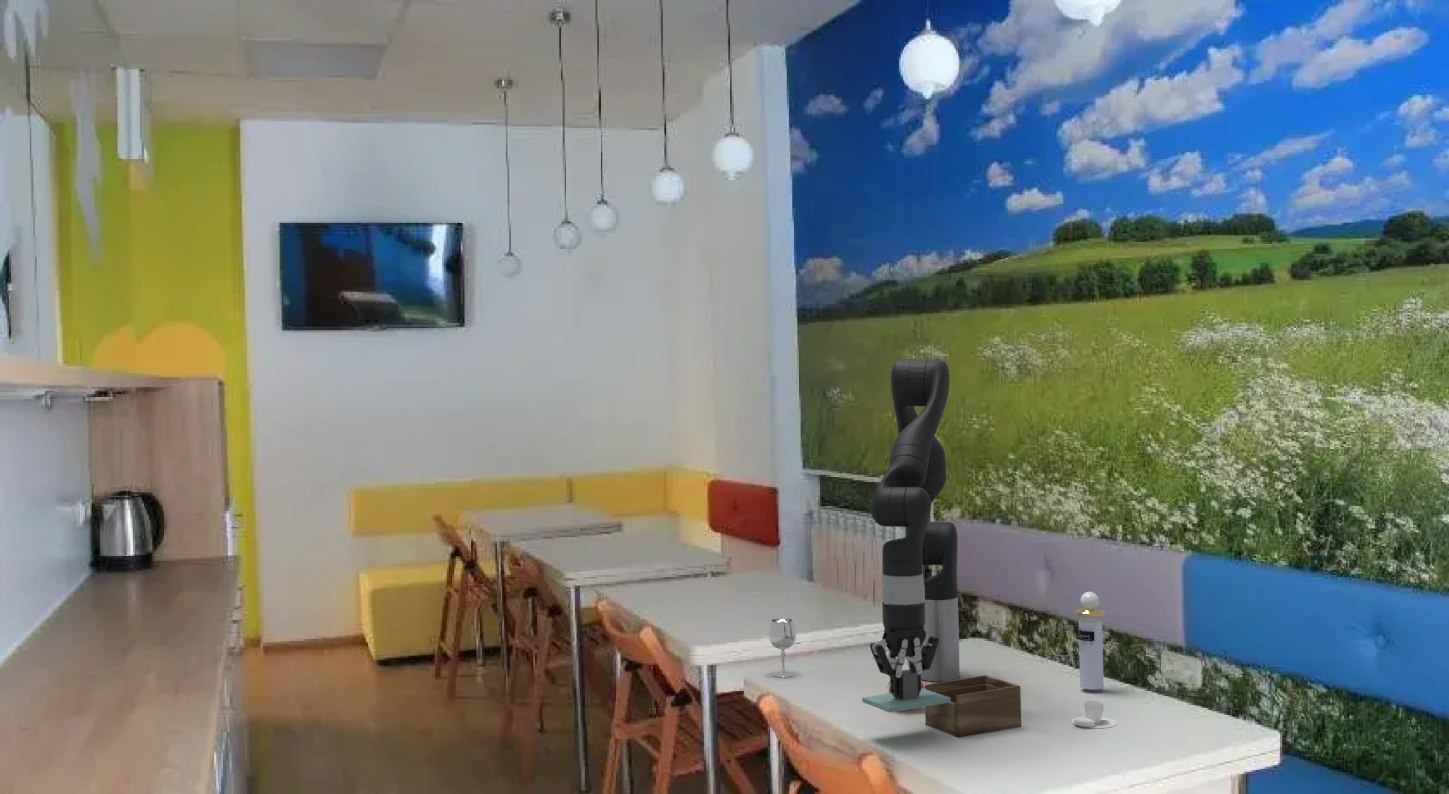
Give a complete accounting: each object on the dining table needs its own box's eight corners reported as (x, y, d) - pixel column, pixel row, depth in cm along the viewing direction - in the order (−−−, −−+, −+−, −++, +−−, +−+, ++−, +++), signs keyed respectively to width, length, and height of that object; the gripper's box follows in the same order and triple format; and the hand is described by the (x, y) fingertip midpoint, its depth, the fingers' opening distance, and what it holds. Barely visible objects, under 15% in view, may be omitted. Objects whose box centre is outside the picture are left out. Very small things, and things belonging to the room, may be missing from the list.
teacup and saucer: (1082, 733, 220) (1082, 710, 220) (1059, 721, 227) (1058, 699, 227) (1125, 728, 222) (1125, 705, 222) (1101, 717, 230) (1100, 695, 230)
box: (925, 724, 226) (924, 684, 226) (986, 714, 232) (985, 675, 232) (959, 738, 217) (957, 696, 217) (1021, 726, 223) (1020, 685, 223)
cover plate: (862, 702, 219) (861, 672, 219) (922, 692, 225) (921, 663, 225) (889, 712, 211) (888, 682, 211) (950, 702, 217) (949, 672, 217)
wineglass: (779, 670, 273) (778, 617, 273) (801, 673, 269) (800, 619, 269) (765, 676, 268) (763, 621, 268) (787, 679, 265) (786, 623, 265)
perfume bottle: (1087, 685, 252) (1084, 588, 252) (1112, 690, 248) (1110, 591, 248) (1071, 690, 248) (1068, 592, 248) (1096, 695, 244) (1094, 595, 244)
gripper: (923, 592, 225) (925, 687, 225) (858, 600, 218) (861, 697, 218) (948, 598, 218) (950, 695, 218) (882, 606, 212) (884, 706, 212)
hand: (905, 695), depth 218 cm, fingers closed on cover plate, 3 cm apart
